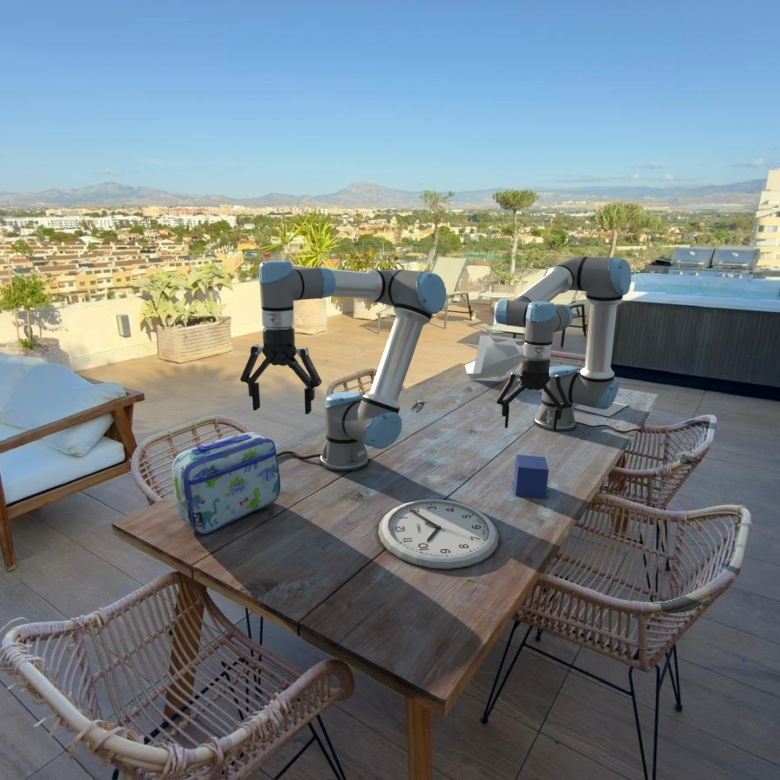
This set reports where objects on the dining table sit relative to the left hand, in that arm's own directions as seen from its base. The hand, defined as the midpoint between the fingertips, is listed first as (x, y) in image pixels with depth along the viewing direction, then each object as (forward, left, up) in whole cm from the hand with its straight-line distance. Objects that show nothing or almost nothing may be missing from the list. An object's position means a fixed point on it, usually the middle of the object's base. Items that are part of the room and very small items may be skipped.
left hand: (282, 410), depth 132 cm
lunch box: (-12, -7, -28) cm, 32 cm away
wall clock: (+41, +3, -28) cm, 50 cm away
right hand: (+60, +38, -11) cm, 72 cm away
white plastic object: (+44, +138, -28) cm, 147 cm away
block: (+61, +33, -28) cm, 75 cm away
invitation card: (+87, +121, -28) cm, 152 cm away
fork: (+11, +96, -28) cm, 101 cm away
